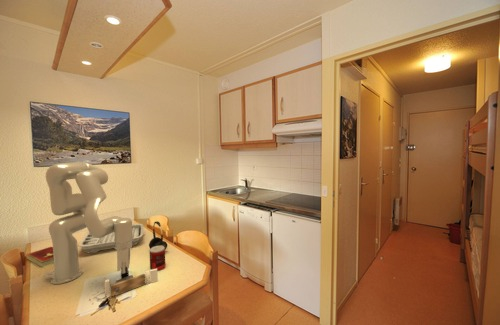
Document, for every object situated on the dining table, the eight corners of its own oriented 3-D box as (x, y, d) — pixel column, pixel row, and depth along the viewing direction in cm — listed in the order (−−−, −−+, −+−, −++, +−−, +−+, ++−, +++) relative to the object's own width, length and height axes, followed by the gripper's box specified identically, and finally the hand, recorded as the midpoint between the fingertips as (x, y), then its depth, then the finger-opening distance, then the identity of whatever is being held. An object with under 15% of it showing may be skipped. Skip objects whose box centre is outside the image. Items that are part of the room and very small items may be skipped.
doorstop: (117, 293, 96) (117, 285, 96) (116, 288, 100) (115, 280, 100) (134, 287, 101) (134, 279, 100) (132, 282, 105) (132, 274, 104)
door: (111, 298, 93) (111, 288, 92) (110, 295, 95) (110, 285, 94) (146, 285, 102) (145, 275, 101) (144, 282, 103) (144, 273, 103)
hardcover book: (52, 252, 139) (51, 245, 139) (67, 259, 130) (67, 252, 130) (27, 260, 129) (26, 253, 129) (42, 268, 119) (41, 261, 119)
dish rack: (143, 246, 145) (143, 235, 144) (76, 260, 128) (75, 247, 128) (143, 231, 173) (143, 222, 172) (88, 240, 156) (87, 230, 156)
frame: (105, 295, 95) (104, 282, 95) (106, 292, 97) (105, 279, 97) (157, 281, 105) (157, 269, 105) (157, 279, 107) (157, 268, 106)
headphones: (155, 258, 128) (154, 226, 127) (147, 250, 138) (146, 220, 137) (169, 253, 134) (168, 222, 133) (160, 246, 144) (159, 217, 143)
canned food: (154, 264, 122) (153, 245, 121) (167, 264, 121) (167, 245, 121) (147, 271, 114) (146, 251, 113) (161, 271, 114) (161, 251, 113)
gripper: (116, 239, 108) (117, 274, 109) (112, 252, 95) (114, 291, 96) (133, 237, 112) (134, 270, 113) (131, 248, 98) (133, 286, 99)
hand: (125, 280), depth 104 cm, fingers closed
